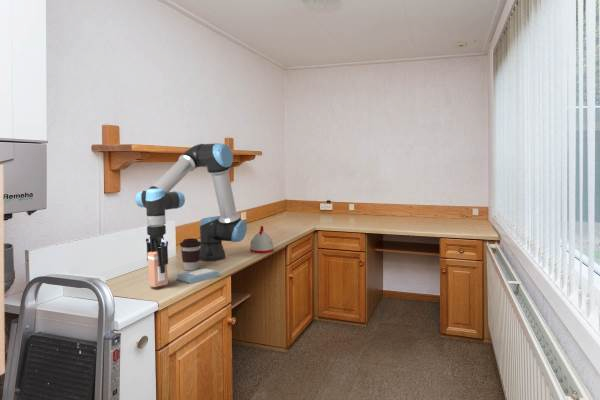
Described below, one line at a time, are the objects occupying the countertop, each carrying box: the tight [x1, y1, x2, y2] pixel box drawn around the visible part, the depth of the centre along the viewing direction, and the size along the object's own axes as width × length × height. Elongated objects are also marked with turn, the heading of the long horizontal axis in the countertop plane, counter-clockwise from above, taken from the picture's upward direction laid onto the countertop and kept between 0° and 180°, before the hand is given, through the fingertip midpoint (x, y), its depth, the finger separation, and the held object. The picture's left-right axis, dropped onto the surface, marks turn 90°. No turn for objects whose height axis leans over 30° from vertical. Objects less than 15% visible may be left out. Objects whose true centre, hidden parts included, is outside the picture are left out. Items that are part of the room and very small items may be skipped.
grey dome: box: [249, 225, 274, 254], centre depth 266 cm, size 14×14×15 cm
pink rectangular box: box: [147, 251, 169, 288], centre depth 190 cm, size 6×5×14 cm
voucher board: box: [176, 267, 220, 285], centre depth 206 cm, size 17×10×3 cm, turn 139°
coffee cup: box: [179, 238, 201, 272], centre depth 222 cm, size 10×10×15 cm
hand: (158, 279), depth 190 cm, fingers closed on pink rectangular box, 5 cm apart
